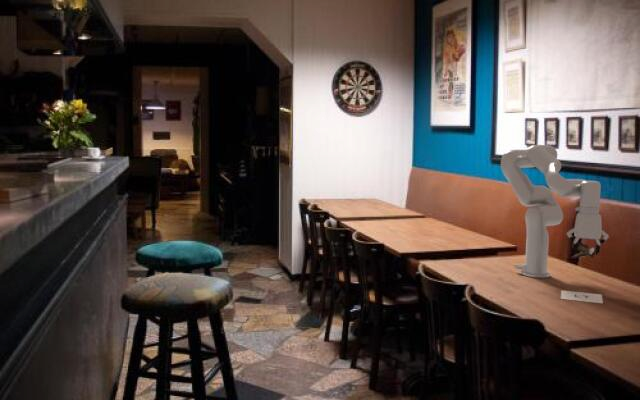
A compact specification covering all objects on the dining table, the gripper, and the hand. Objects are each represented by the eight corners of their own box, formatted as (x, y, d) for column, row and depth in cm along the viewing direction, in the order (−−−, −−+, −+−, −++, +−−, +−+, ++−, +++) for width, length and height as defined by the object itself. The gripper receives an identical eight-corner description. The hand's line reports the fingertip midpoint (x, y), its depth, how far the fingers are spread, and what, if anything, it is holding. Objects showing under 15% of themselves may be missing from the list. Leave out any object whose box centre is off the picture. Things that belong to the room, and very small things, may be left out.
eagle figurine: (592, 254, 266) (570, 248, 268) (597, 241, 261) (574, 236, 263) (591, 266, 260) (569, 261, 262) (597, 254, 256) (573, 248, 258)
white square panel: (560, 298, 246) (560, 298, 246) (561, 290, 258) (561, 290, 258) (602, 303, 240) (602, 303, 240) (601, 294, 253) (601, 294, 253)
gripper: (566, 210, 259) (563, 253, 261) (612, 213, 252) (609, 257, 254) (566, 208, 266) (563, 250, 268) (611, 211, 259) (608, 253, 261)
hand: (586, 253), depth 261 cm, fingers closed on eagle figurine, 7 cm apart
